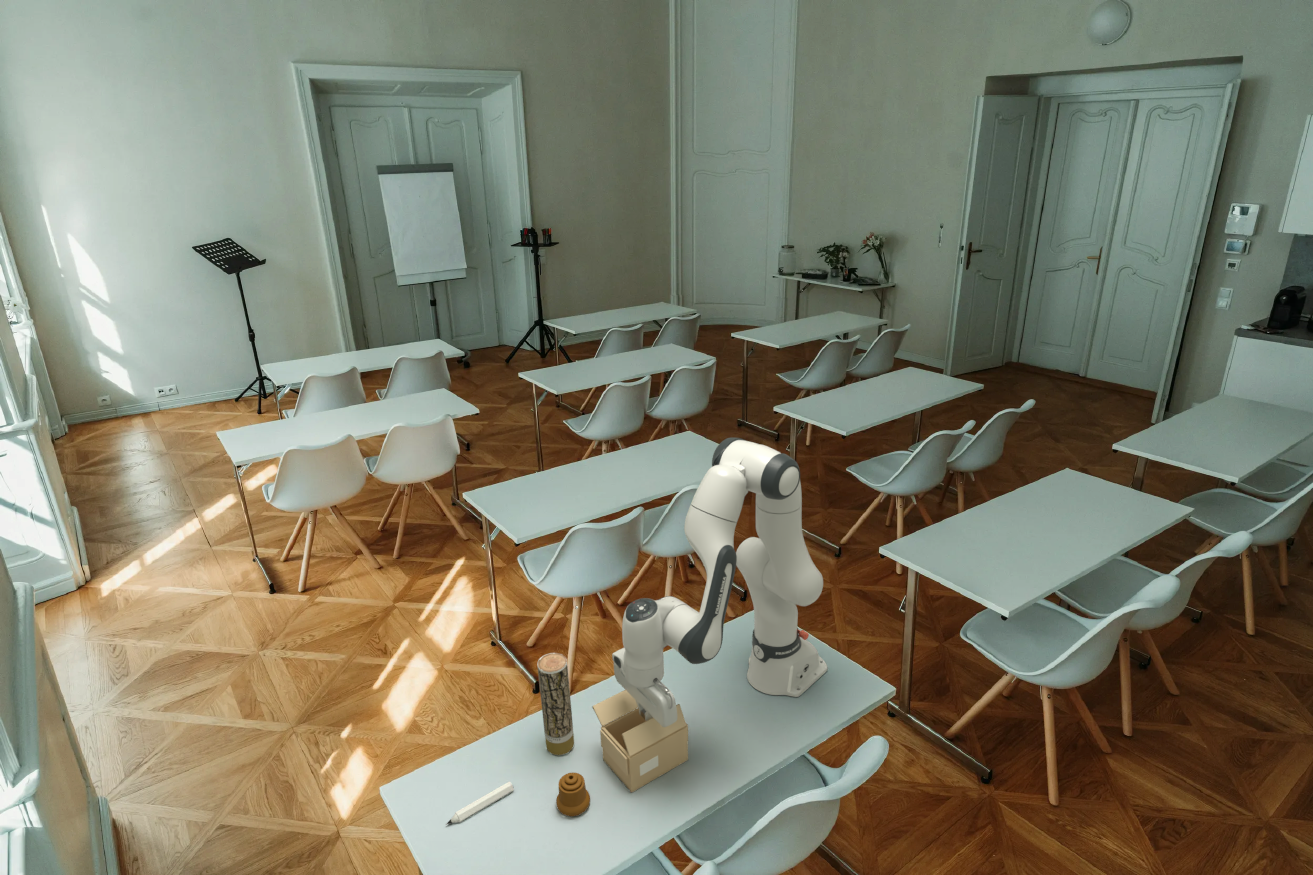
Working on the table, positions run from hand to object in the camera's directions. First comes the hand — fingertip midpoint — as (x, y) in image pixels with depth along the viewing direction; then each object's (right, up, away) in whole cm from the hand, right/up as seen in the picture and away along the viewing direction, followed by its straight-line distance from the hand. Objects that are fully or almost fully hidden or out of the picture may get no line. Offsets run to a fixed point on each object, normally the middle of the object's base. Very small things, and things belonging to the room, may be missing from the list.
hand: (646, 717), depth 176 cm
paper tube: (-21, -11, +11) cm, 26 cm away
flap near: (+3, -4, -2) cm, 6 cm away
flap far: (-4, -1, +6) cm, 7 cm away
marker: (-37, -19, -5) cm, 41 cm away
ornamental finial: (-16, -18, -5) cm, 24 cm away
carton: (0, -12, +6) cm, 14 cm away
